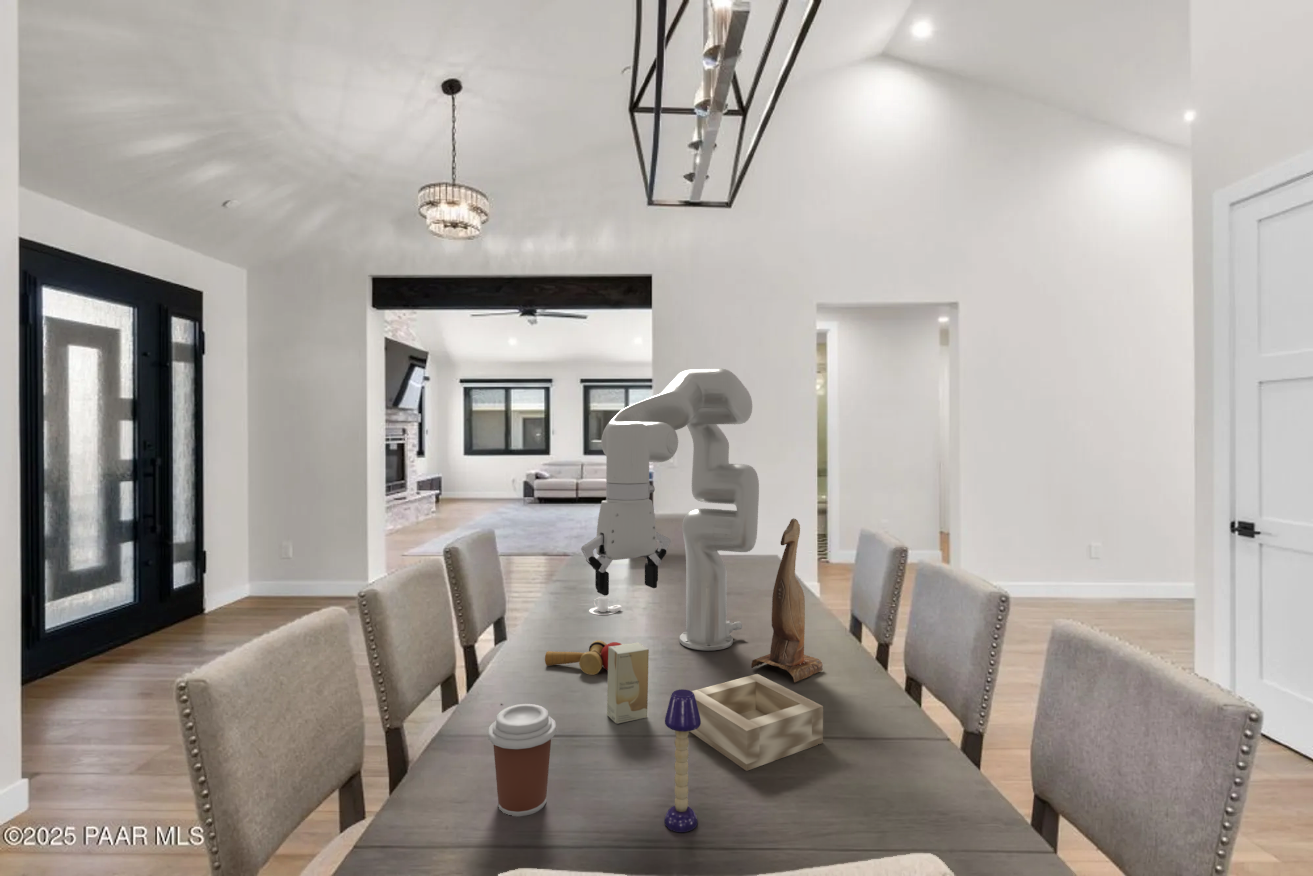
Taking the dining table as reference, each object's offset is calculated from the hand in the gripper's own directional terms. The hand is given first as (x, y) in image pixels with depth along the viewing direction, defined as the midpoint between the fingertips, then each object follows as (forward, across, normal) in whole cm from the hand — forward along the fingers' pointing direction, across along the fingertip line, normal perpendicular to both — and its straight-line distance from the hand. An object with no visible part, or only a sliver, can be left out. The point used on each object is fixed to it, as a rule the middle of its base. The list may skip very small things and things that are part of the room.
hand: (627, 590), depth 113 cm
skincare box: (+22, 0, 0) cm, 23 cm away
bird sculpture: (+22, -39, -1) cm, 45 cm away
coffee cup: (+23, +25, +15) cm, 37 cm away
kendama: (+23, -4, -24) cm, 33 cm away
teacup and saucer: (+23, -26, -57) cm, 67 cm away
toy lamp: (+23, +9, +30) cm, 39 cm away
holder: (+22, -14, +17) cm, 31 cm away
